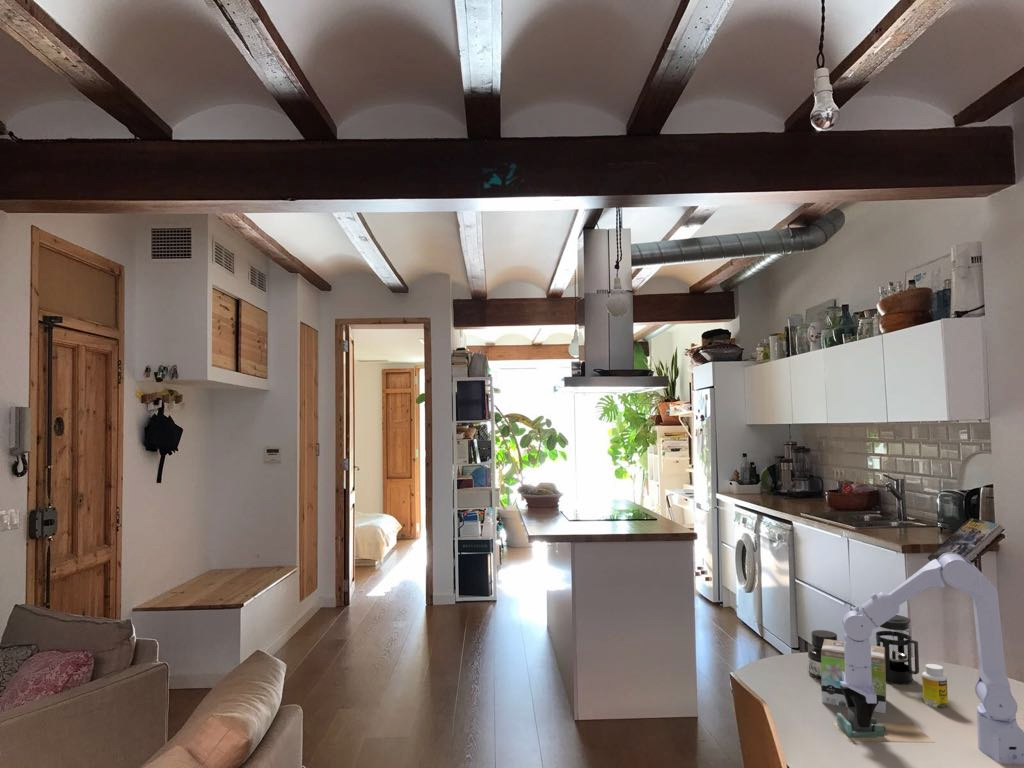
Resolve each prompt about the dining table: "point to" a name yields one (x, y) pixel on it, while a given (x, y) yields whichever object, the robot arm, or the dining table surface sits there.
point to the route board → (882, 732)
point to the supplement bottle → (934, 686)
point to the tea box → (836, 665)
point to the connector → (854, 722)
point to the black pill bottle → (818, 651)
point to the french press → (896, 660)
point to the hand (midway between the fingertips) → (859, 722)
